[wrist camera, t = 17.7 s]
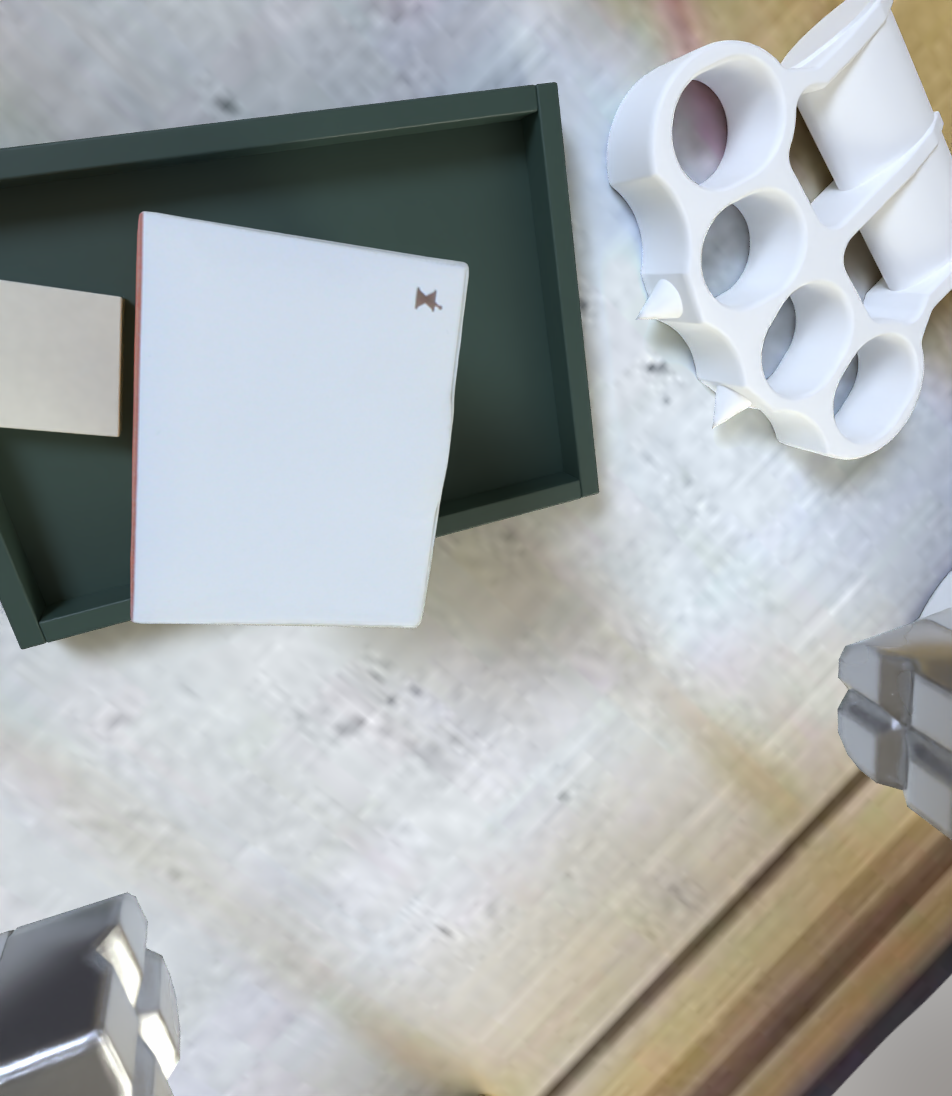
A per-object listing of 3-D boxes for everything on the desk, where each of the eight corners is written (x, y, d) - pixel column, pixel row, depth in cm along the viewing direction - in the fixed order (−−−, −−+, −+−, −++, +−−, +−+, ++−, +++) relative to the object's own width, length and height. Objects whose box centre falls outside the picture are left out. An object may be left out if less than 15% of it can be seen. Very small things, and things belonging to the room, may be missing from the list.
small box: (160, 235, 25) (134, 195, 13) (356, 267, 27) (480, 258, 16) (153, 481, 27) (126, 632, 16) (335, 492, 29) (430, 632, 18)
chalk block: (125, 296, 25) (122, 297, 24) (122, 431, 26) (119, 438, 25) (-34, 274, 24) (-45, 273, 23) (-29, 418, 25) (-39, 424, 24)
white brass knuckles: (968, 293, 37) (753, 511, 37) (800, -84, 29) (524, 192, 29) (1037, 294, 34) (803, 532, 34) (871, -126, 26) (563, 182, 26)
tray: (533, 94, 28) (557, 81, 26) (577, 481, 33) (599, 493, 31) (-153, 179, 22) (-185, 170, 21) (32, 625, 28) (20, 650, 26)
